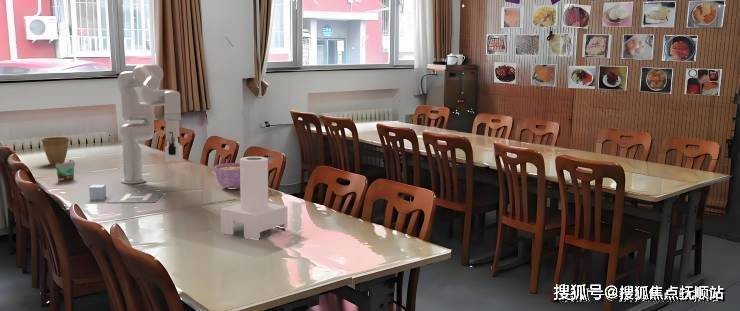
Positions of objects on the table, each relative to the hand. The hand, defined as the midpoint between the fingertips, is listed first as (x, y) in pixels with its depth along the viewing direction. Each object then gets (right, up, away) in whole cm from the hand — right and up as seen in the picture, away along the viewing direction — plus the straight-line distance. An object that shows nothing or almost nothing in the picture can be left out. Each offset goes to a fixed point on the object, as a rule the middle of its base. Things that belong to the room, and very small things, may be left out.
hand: (173, 153), depth 319 cm
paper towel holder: (+48, -32, -52) cm, 78 cm away
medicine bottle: (0, -4, +1) cm, 4 cm away
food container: (-68, -15, +38) cm, 80 cm away
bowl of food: (+24, -19, +27) cm, 40 cm away
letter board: (-19, -22, +1) cm, 29 cm away
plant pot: (-96, -7, +82) cm, 127 cm away
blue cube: (-36, -22, -1) cm, 43 cm away
